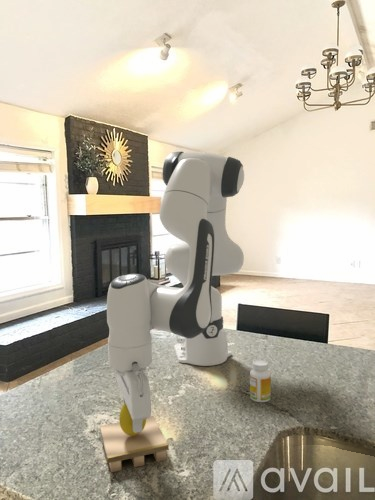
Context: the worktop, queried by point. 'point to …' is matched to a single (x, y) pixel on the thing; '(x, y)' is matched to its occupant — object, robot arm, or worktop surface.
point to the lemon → (128, 421)
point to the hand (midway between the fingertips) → (132, 418)
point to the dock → (133, 444)
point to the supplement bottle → (260, 381)
